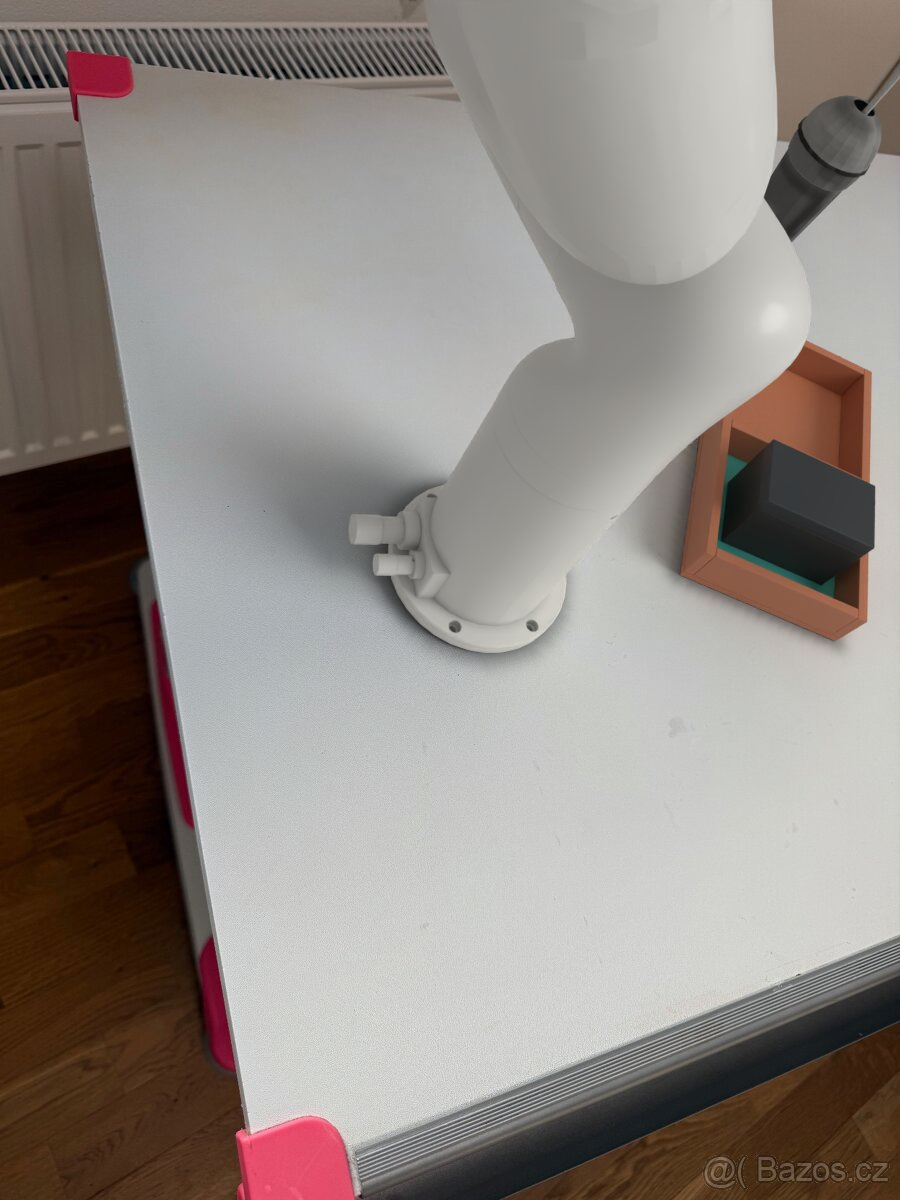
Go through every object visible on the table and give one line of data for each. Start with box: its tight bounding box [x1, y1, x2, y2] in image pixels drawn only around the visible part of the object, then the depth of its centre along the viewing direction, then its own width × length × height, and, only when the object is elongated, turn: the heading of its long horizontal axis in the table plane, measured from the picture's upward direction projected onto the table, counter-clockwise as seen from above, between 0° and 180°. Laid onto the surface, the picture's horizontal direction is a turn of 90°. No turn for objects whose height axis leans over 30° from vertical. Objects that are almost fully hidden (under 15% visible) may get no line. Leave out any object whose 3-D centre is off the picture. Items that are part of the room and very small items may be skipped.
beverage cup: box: [764, 68, 900, 244], centre depth 85 cm, size 7×7×20 cm
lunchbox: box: [721, 439, 876, 585], centre depth 73 cm, size 9×6×6 cm, turn 76°
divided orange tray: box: [679, 339, 873, 642], centre depth 78 cm, size 14×26×4 cm, turn 166°
